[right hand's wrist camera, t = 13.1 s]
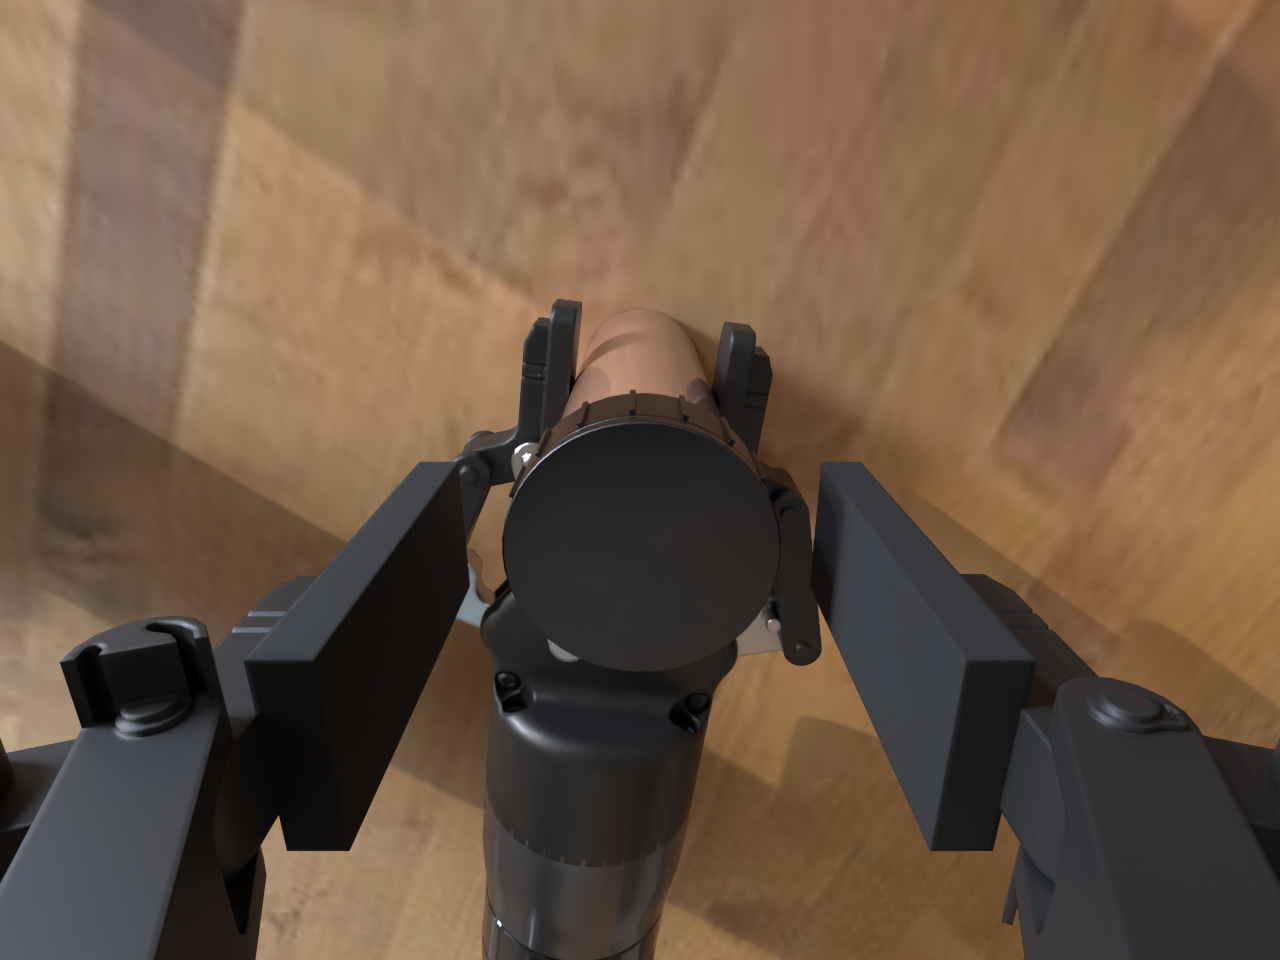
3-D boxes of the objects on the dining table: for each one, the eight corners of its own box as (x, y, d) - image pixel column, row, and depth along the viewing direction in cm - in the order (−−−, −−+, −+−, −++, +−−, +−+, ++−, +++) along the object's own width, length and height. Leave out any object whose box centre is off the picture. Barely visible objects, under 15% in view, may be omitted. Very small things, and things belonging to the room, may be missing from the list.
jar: (708, 406, 27) (779, 618, 13) (601, 432, 28) (562, 665, 14) (683, 296, 26) (733, 405, 12) (571, 325, 26) (491, 464, 12)
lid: (787, 590, 15) (808, 644, 13) (557, 640, 15) (546, 699, 13) (739, 360, 13) (756, 386, 11) (482, 425, 14) (457, 459, 12)
